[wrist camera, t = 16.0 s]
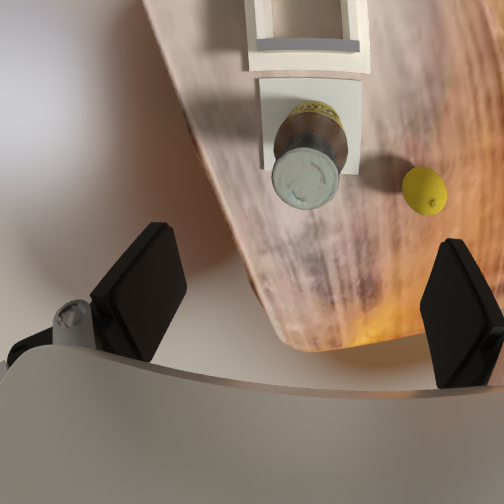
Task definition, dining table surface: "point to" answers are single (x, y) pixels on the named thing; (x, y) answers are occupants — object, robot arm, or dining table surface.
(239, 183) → the dining table surface
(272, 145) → the mat
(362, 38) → the caddy
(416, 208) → the lemon
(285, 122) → the sauce bottle
